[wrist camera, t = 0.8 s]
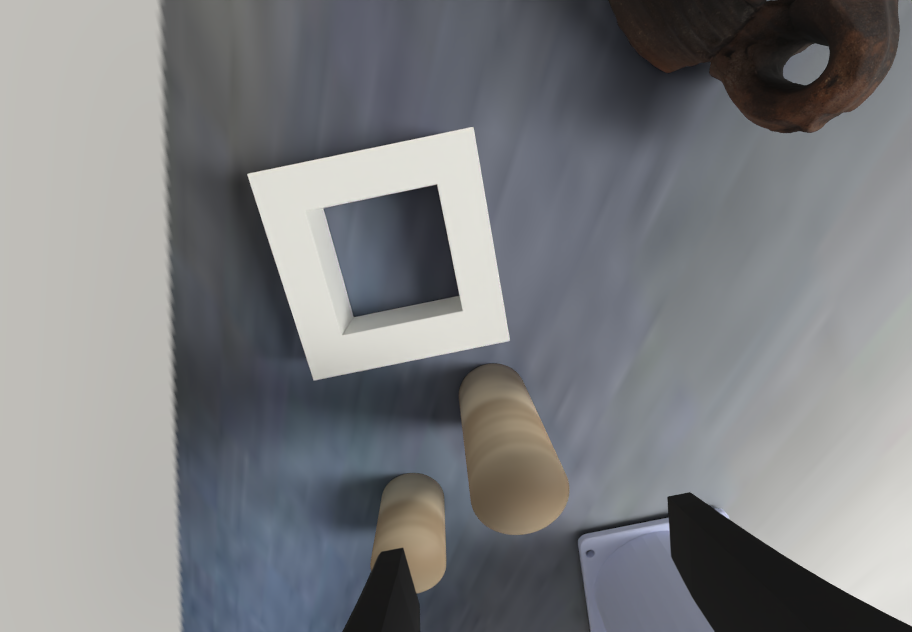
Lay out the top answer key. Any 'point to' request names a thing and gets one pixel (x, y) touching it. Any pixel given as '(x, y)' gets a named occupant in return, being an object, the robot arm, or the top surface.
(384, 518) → the short pin
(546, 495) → the long pin
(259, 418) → the top surface
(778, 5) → the pottery mug
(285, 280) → the collar
